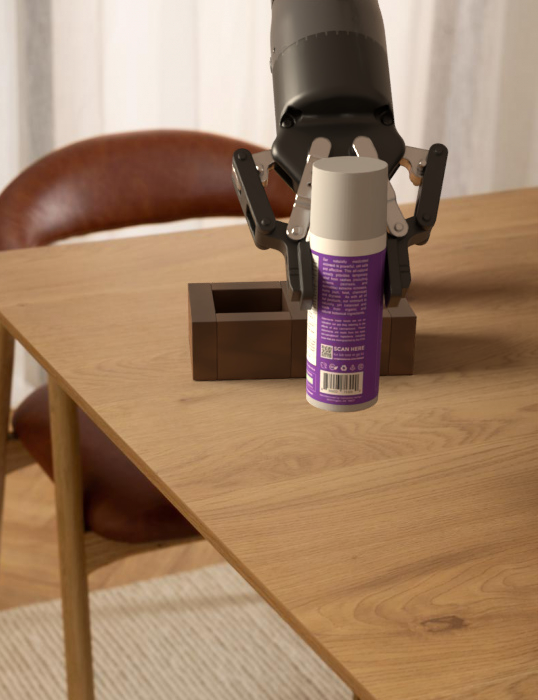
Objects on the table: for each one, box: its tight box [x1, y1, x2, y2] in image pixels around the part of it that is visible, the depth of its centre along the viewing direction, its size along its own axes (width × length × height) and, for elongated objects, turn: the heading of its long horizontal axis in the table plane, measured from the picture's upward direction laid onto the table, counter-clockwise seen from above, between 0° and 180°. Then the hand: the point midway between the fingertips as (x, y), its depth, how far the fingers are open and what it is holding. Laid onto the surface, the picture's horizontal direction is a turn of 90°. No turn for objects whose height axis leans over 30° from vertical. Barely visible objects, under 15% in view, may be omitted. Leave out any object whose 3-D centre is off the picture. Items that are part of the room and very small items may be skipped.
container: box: [305, 156, 388, 413], centre depth 73 cm, size 5×5×15 cm
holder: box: [187, 280, 418, 381], centre depth 100 cm, size 18×10×5 cm, turn 93°
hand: (350, 302), depth 72 cm, fingers closed on container, 4 cm apart
